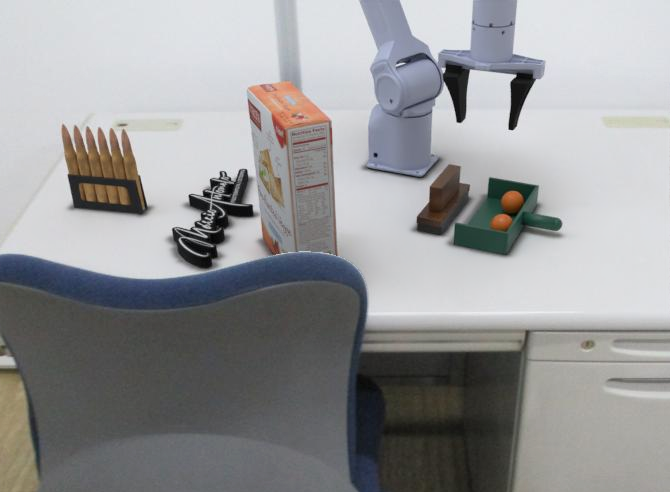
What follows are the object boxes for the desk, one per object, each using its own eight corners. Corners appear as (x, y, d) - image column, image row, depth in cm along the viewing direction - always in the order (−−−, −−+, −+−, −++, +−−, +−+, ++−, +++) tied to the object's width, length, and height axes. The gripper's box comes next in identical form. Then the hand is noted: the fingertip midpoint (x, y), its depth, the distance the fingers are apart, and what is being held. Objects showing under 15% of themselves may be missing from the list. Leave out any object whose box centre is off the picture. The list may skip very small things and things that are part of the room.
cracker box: (260, 241, 113) (243, 85, 100) (301, 233, 115) (291, 78, 101) (295, 291, 103) (282, 125, 90) (340, 281, 105) (334, 116, 92)
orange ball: (519, 219, 118) (497, 215, 119) (525, 210, 120) (503, 206, 121) (521, 198, 116) (499, 194, 117) (527, 189, 118) (505, 185, 119)
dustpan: (453, 244, 112) (454, 223, 110) (487, 196, 124) (489, 176, 122) (546, 262, 109) (549, 241, 107) (573, 211, 120) (576, 191, 118)
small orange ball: (495, 245, 113) (482, 226, 112) (501, 235, 115) (489, 216, 114) (514, 236, 111) (502, 216, 110) (521, 225, 113) (508, 206, 112)
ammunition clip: (148, 208, 120) (132, 127, 113) (142, 214, 119) (126, 132, 111) (79, 201, 122) (59, 121, 114) (73, 207, 121) (53, 126, 113)
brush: (416, 231, 115) (417, 191, 112) (446, 194, 124) (448, 156, 121) (440, 235, 114) (442, 196, 110) (469, 198, 123) (471, 160, 119)
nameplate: (237, 257, 106) (159, 257, 106) (239, 268, 107) (161, 268, 107) (262, 168, 127) (197, 168, 128) (263, 178, 128) (198, 177, 129)
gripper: (431, 24, 109) (428, 126, 117) (539, 35, 104) (528, 141, 113) (449, 11, 114) (445, 110, 122) (553, 21, 109) (542, 123, 118)
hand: (486, 124), depth 118 cm, fingers open, 7 cm apart
